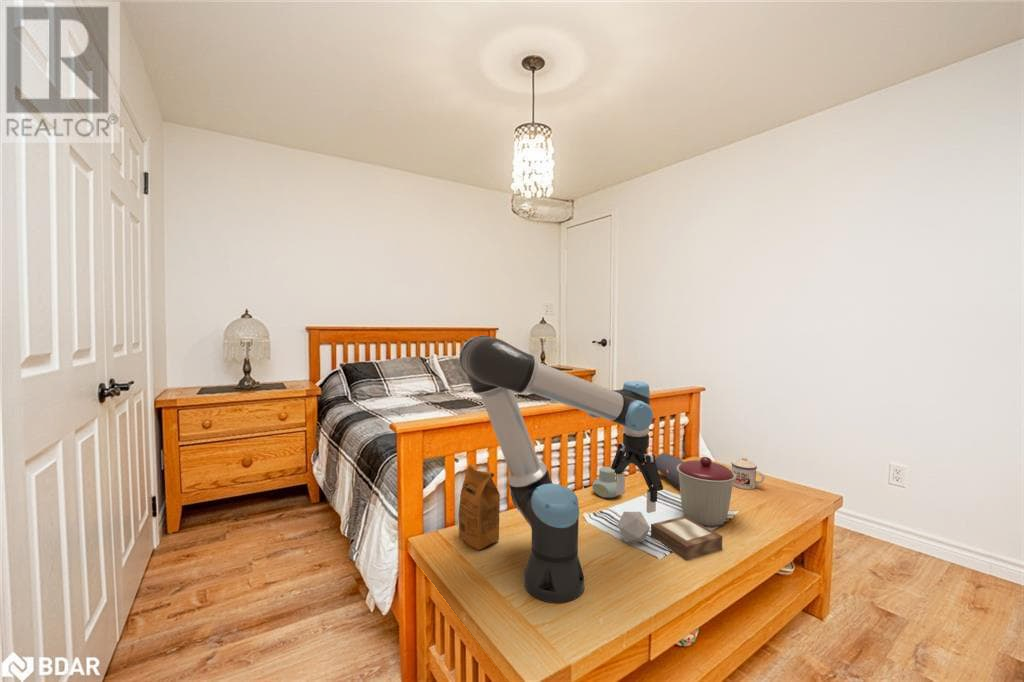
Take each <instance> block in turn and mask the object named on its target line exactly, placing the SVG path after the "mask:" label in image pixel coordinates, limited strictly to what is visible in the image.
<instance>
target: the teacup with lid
mask: <svg viewBox="0 0 1024 682" xmlns="http://www.w3.org/2000/svg"><path fill="white" fill-rule="evenodd" d="M730 464H731V471H733V472H734V473H735V474H736V478H735V479H734V480H733V486H732V487H735V488H738V489H740V490H741V489H742V490H747V491H748V490H750V491H751V490H755V488H756V484H757V485H759V484H762V483H764V481H765V474H764V473H763V472H761V471H758V470H757V468H758V466H757V464H756V463H754V462H752V461H750V460H749V459H748V458H747V456H742V457H741V458H739V459H734V460H732V461H731V463H730ZM757 474H758V475H760V476H761V480H760V481H756V480H757Z"/></svg>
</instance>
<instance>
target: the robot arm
mask: <svg viewBox="0 0 1024 682" xmlns="http://www.w3.org/2000/svg"><path fill="white" fill-rule="evenodd" d="M458 360H459V365H460V367H461V369H462V371H463V373H465V375H466V376H467V379H468V382H469V385H470V386H471V390H472V392H473V394H475V395H477V396H480V397H481V400H482V402H483V406H484V408H485V411H486V413H487V415H488V418H489V421H490V424H491V426H492V429H493V431H494V435H495V436H496V439H497V442H498V445H499V447H500V450H501V452H502V456H503V458H504V460H505V463H506V466H507V469H508V471H509V475H508V477H507V484H508V487H509V493H510V497H511V501H512V504H513V505H514V507H515V508H516V510H517V511H519V513H520V515H522V517H523V518H524V520H525V521H526V522H527V523H528V525H529V527H530V529H531V552H530V555H529V557H528V561H527V564H526V567H525V570H524V574H523V583H524V588H525V589H526V590H527V592H528V593H529V594H530V595H532V597H534V598H536V599H539V600H540V601H544V602H546V603H547V602H548V603H554V604H555V603H558V604H559V603H567V602H571V601H573V600H576V599H577V598H579V597H580V596H581V595H582V594H583V592H584V590H585V574H584V572H583V567H582V564H581V561H580V557H579V554H578V553H579V521H580V520H579V517H580V507H579V499H578V497H577V495H576V493H575V492H574V491H573V490H572V489H571V488H568V487H567V486H563V485H562V484H558V483H553V481H552V478H551V475H550V473H549V470H548V467H547V465H546V464H545V463H544V462H541V461H539V459H538V458H539V457H538V456H537V453H536V450H535V448H534V445H533V442H532V439H531V437H530V433H529V432H528V431H529V430H528V429H527V426H526V423H525V420H524V417H523V414H522V412H521V410H520V409H521V408H520V405H519V404H518V401H517V398H516V395H515V393H514V392H516V393H519V394H522V393H524V392H529V393H531V394H535V395H537V396H541V397H543V398H545V399H548V400H550V401H554V402H556V403H559V404H563V405H565V406H568V407H572V408H573V409H577V410H579V411H583V412H585V413H587V414H588V416H589V417H591V418H598V419H600V418H602V419H605V420H608V421H611V422H612V423H616V424H618V425H621V426H622V432H623V434H622V443H618V444H617V450H616V454H615V456H614V458H613V461H612V463H611V466H610V467H611V469H614V470H615V480H616V494H617V495H618V496H620V495H625V494H626V493H625V492H626V489H625V488H626V484H625V483H626V473H625V470H626V469H627V467H628V466H629V465H630V464H633V465H634V466H636V467H637V469H638V470H640V472H641V475H642V477H643V479H644V481H645V484H646V486H647V488H648V489H646V513H647V514H651V513H654V512H656V510H657V508H656V507H657V502H658V492H659V491H660V492H661V491H663V490H664V486H663V482H662V479H661V477H660V472H659V471H658V469H657V466H656V461H655V460H656V455H655V454H648V452H647V449H648V448H649V446H650V435H649V433H650V426H651V424H652V422H653V420H654V411H653V409H652V407H651V406H650V402H651V395H650V394H651V393H650V385H649V384H648V383H647V382H645V381H638V380H637V381H636V380H632V381H631V380H630V381H625V382H624V383H623V386H622V389H614V390H613V389H609V388H606V387H604V386H602V385H599V384H597V383H593V382H591V381H589V380H586V379H583V378H580V377H578V376H576V375H574V374H571V373H567V372H565V371H563V370H560V369H558V368H554V367H553V366H549V365H546V364H544V363H542V362H539V361H537V358H536V357H535V355H533V354H529V353H527V352H524V351H523V350H520V349H519V348H517V347H515V346H514V345H512V344H510V343H508V342H506V341H505V340H503V339H500V338H497V337H493V336H489V335H478V336H474V337H472V338H470V339H468V340H467V341H466V342H465V343H464V344H463V345H462V347H461V349H460V352H459V359H458Z"/></svg>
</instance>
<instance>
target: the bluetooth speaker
mask: <svg viewBox="0 0 1024 682" xmlns="http://www.w3.org/2000/svg"><path fill="white" fill-rule="evenodd" d="M655 461H656V466H657V469H658V472H659V474H662V475H663V476H664V477H665V478H667V480H668V481H669V482H670V483H671V484H673V485H674V486H675V487H677V488H679V489H680V482H679V472H678V471H677V466H678V465H679V464H681V463H683V462H684V461H683V460H681V459H679V458H678V457H676V456H674V455H671V454H669V453H666V452H662V453H659V454H658V455H657V456H656V457H655Z"/></svg>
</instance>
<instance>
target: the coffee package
mask: <svg viewBox="0 0 1024 682" xmlns="http://www.w3.org/2000/svg"><path fill="white" fill-rule="evenodd" d="M494 477H495V474H494V472H489V471H483V470H482V471H481V470H477V468H476V466H475V465H474V464H473V463H469V464H468V468H467V470H466V473H465V476H464V480H463V482H462V486H461V489H460V497H459V507H458V513H457V515H458V538H459V539H461V540H463V541H464V542H465V544H466V545H467V546H468V547H471V548H474V549H475V550H479V551H480V550H483V549H484V548H487V546H490V545H491V544H494V543H496V542H497V541H499V539H500V513H501V511H500V509H501V507H500V506H501V505H500V501H501V499H500V497H501V494H500V491H499V490H498V488H497V486H496V484H495V482H494V480H493V478H494Z"/></svg>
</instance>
